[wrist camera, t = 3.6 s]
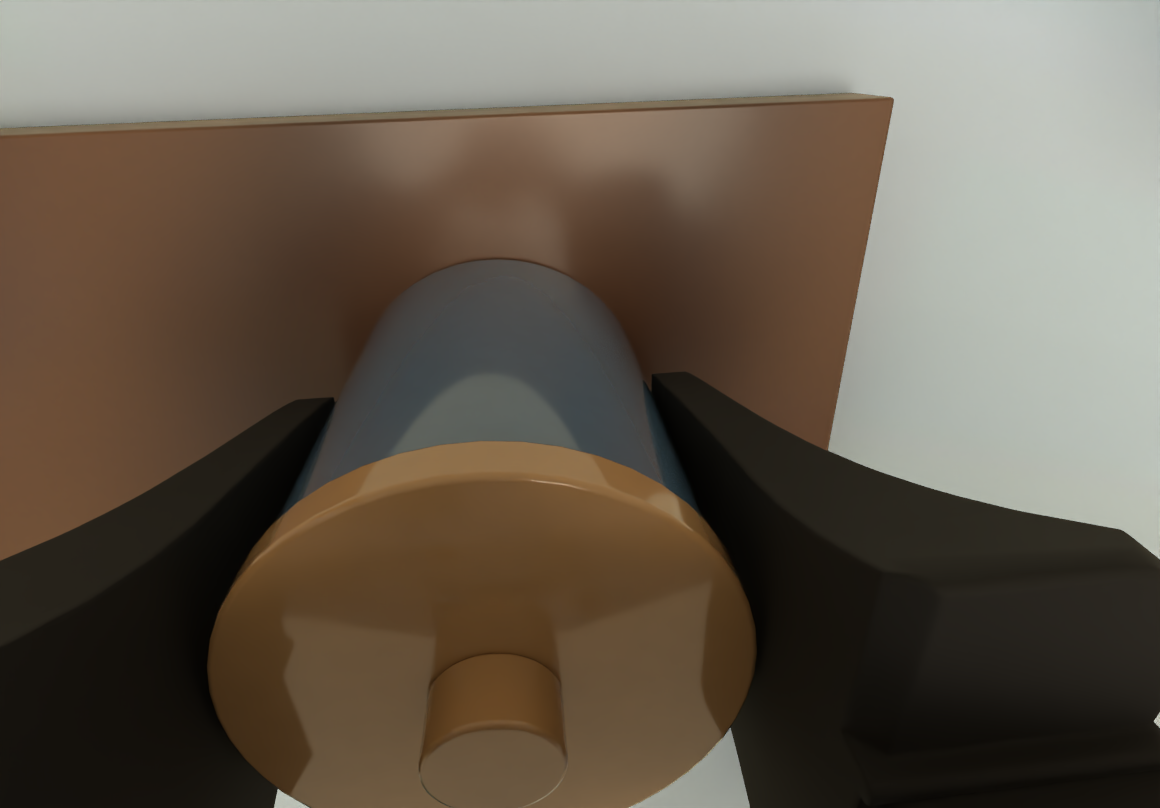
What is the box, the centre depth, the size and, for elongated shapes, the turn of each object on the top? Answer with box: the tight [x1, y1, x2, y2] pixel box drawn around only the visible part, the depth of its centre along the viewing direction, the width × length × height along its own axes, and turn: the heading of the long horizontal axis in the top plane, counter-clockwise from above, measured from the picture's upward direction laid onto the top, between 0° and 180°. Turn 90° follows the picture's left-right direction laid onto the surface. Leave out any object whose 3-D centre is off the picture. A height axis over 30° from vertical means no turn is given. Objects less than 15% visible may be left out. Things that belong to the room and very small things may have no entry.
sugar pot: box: [207, 259, 757, 808], centre depth 9 cm, size 6×6×8 cm
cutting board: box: [0, 93, 894, 561], centre depth 13 cm, size 20×10×2 cm, turn 92°
